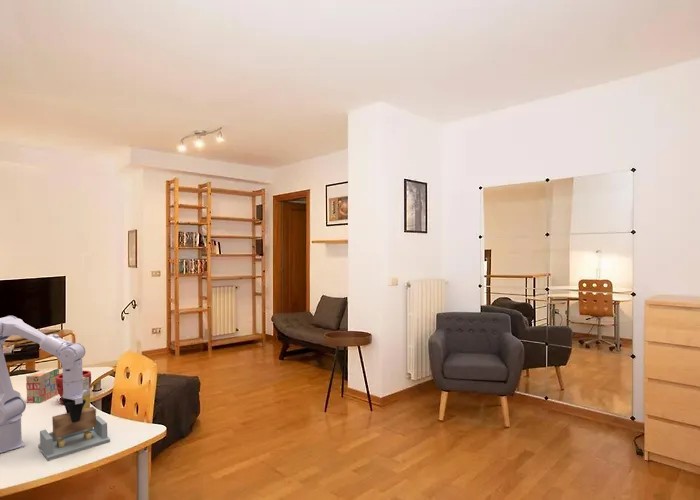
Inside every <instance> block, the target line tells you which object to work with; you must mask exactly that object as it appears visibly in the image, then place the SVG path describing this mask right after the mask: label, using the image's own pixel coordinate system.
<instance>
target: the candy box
mask: <svg viewBox="0 0 700 500" xmlns="http://www.w3.org/2000/svg"><path fill="white" fill-rule="evenodd" d="M90 389H91V387H90V388H89V377H85V376H83V390H87V393H84V394H83V400H84V399H85V400H86V403H85V404H84V406H83V409H85V408H89V407H91V393H90V392H91V391H90Z"/></svg>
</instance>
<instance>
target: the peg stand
mask: <svg viewBox="0 0 700 500" xmlns="http://www.w3.org/2000/svg"><path fill="white" fill-rule="evenodd" d="M39 441H40V443H38V445H37V446H38V447H37V448H38V449H39V450H40V452H41V453H42V455H44V457H45V459H46V460H47V461H49V462H50V461H52V460H55V459H58V458H59V459H60V458H62V457H64V456H65V457H66V456H69V455H72V454H74V453H75V454H76V453H78V452H81V451H84V450H87V449H91V448H94V447H98V446H102V445H104V444H107V443H110V442H111V438H110V437H109V436H108V422H106V421H105V420H104V419H103V418H102V417H100V415H96V427H93V428H89V429H85V430H82V431H78V432H75V433H71V434H67V435H64V436H60V437H57V438H55V436H54V435H53V431H50V432H48V431H47V430H46V429H43V430H39Z"/></svg>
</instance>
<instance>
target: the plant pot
mask: <svg viewBox="0 0 700 500" xmlns="http://www.w3.org/2000/svg"><path fill="white" fill-rule="evenodd" d="M82 372H83V376H85V377H89V388H90V389H91V385H92V372H91V371H90V370H82ZM56 385H57V390H58V393H59V394H58V395H59V397H60V398H59V399H58V400H59V402H60V403H61V404H63V402H62V401H61V399H64V398H63V374H61V375H59V376H57V377H56Z"/></svg>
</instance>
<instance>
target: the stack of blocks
mask: <svg viewBox="0 0 700 500" xmlns="http://www.w3.org/2000/svg"><path fill="white" fill-rule="evenodd" d="M61 374H63V368H59V367H46V368H43V369H40V370H38V371H36V372H33V373H30V374H28V375H26V384H25V386H26V403H27V404H42V403H43V402H47V401H48V400H50V399H52V398H54V397H56V396H58V395H59V393H58V390H57V385H56V377H57V376H59V375H61Z"/></svg>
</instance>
